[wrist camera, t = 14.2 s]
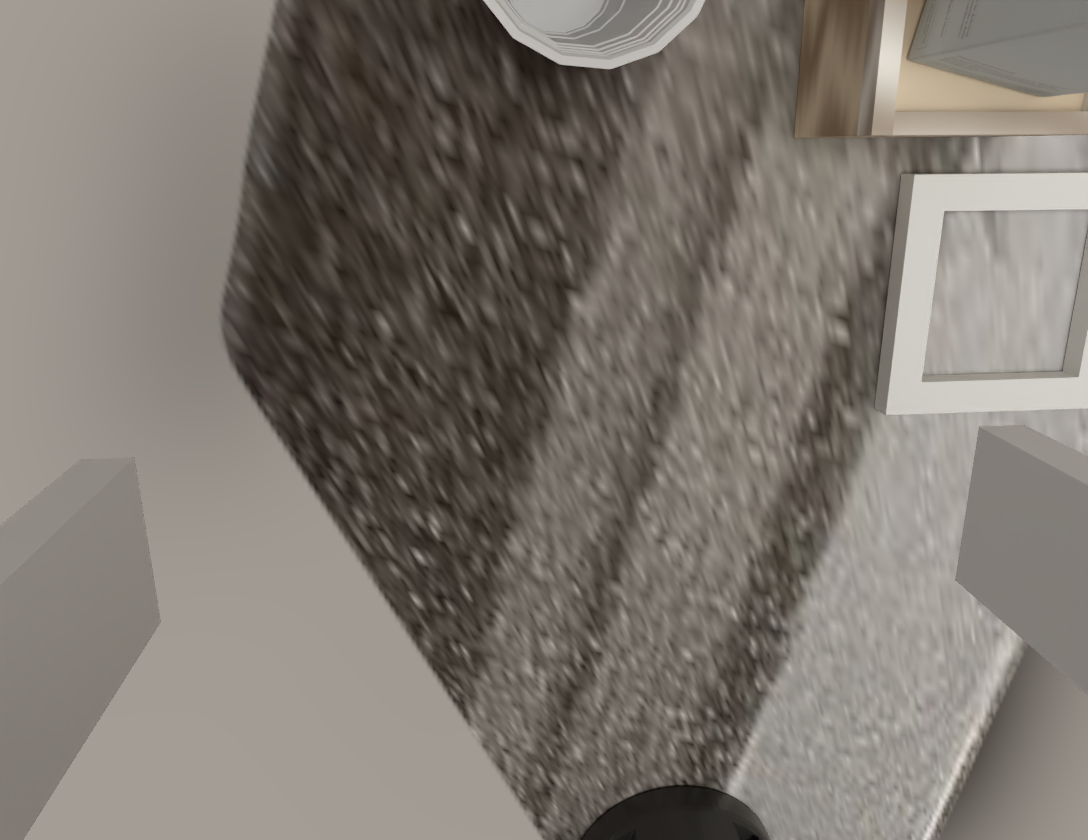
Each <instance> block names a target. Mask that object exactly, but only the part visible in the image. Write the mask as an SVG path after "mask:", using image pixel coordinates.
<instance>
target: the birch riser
mask: <svg viewBox="0 0 1088 840" xmlns="http://www.w3.org/2000/svg"><path fill="white" fill-rule="evenodd" d="M925 3H926V0H805V3H804V16H803V29H802V42H801V55H800V67H799V80H798V93H797V106H796V119H795V132H794V138H826V137H992V136H1045V135H1088V92H1087V93H1077V94H1067V95H1058V96H1050V97H1039V96H1035V95H1031V94H1028V93H1024V92H1021V91H1017V90H1014V89H1010V88H1006V87H1003V86H999V85H996V84H992V83H989V82H985V81H981V80H978V79H975V78H971V77H967V76H963V75H959V74H956V73H953V72H950V71H946V70H942V69H938V68H935V67H931V66H928V65H924V64H921V63H917V62H914V61H910V60H909V59H908V57H909V54H910V51H911V48H912V44H913V41H914V38H915V35H916V32H917V29H918V26H919V22H920V19H921V16H922V13H923V10H924V7H925Z"/></svg>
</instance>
